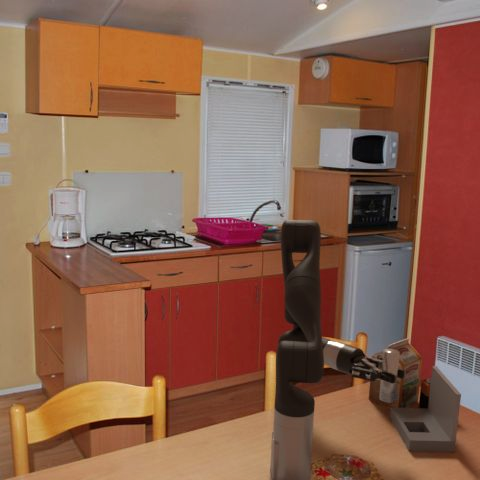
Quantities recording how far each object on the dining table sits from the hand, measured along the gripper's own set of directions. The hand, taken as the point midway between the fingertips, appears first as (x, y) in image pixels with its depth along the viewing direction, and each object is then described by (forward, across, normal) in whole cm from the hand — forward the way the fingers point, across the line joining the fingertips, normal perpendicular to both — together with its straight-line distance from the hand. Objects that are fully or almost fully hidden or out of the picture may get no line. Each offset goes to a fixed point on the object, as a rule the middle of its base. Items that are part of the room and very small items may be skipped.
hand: (399, 377), depth 151 cm
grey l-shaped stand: (+2, +13, +20) cm, 24 cm away
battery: (-3, +28, +20) cm, 35 cm away
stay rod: (-3, 0, +7) cm, 8 cm away
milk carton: (-14, +25, +20) cm, 35 cm away
